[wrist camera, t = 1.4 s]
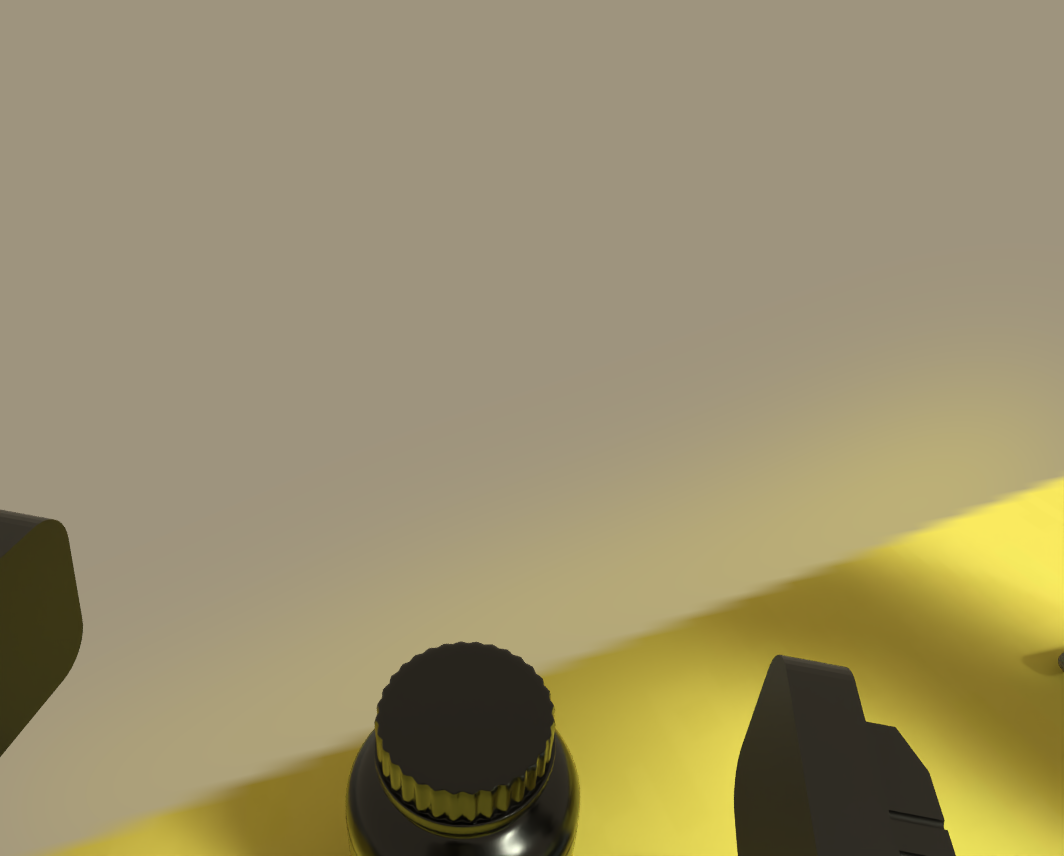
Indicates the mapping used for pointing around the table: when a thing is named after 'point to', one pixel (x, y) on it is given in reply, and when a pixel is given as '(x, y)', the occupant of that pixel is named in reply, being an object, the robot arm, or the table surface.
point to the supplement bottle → (463, 762)
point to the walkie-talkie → (1061, 661)
